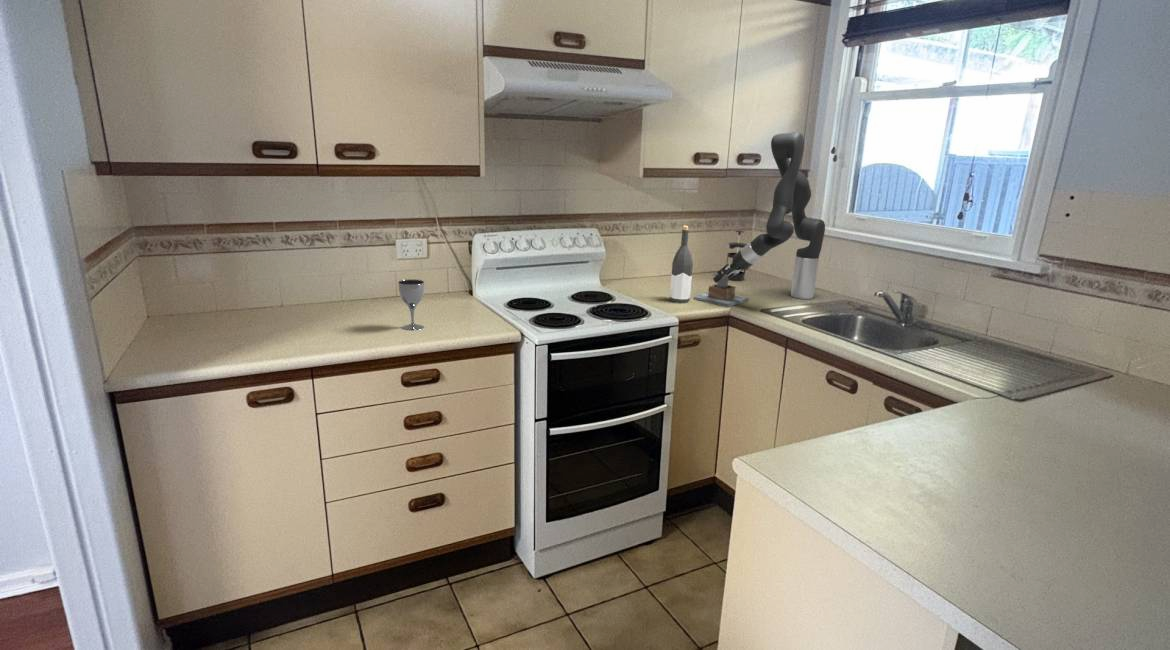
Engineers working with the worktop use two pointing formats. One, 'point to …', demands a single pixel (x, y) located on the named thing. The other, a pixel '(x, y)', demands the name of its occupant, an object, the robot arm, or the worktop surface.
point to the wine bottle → (681, 271)
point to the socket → (721, 296)
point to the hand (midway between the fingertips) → (720, 279)
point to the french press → (740, 275)
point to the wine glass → (411, 298)
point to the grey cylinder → (723, 282)
